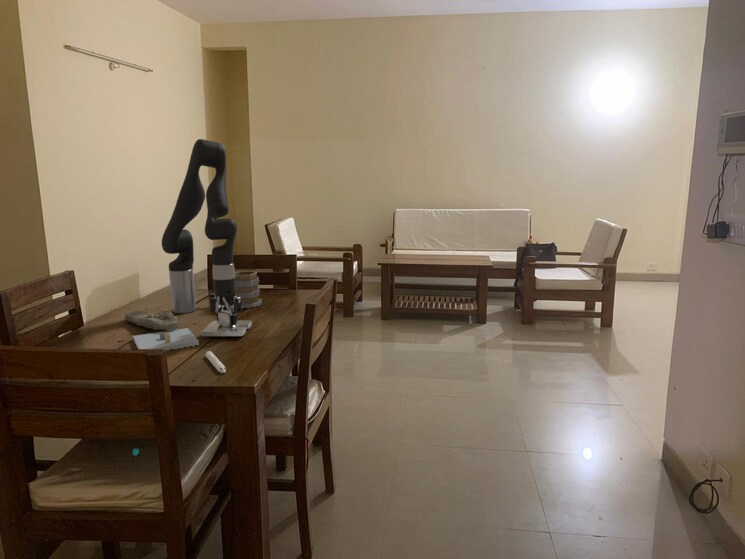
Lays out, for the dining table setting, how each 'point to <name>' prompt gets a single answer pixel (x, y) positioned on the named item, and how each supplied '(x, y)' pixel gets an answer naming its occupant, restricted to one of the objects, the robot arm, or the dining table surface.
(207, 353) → the marker
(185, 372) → the dining table surface
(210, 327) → the flange plate
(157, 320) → the long grey stone
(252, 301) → the tankard
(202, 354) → the dining table surface
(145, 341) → the base plate
